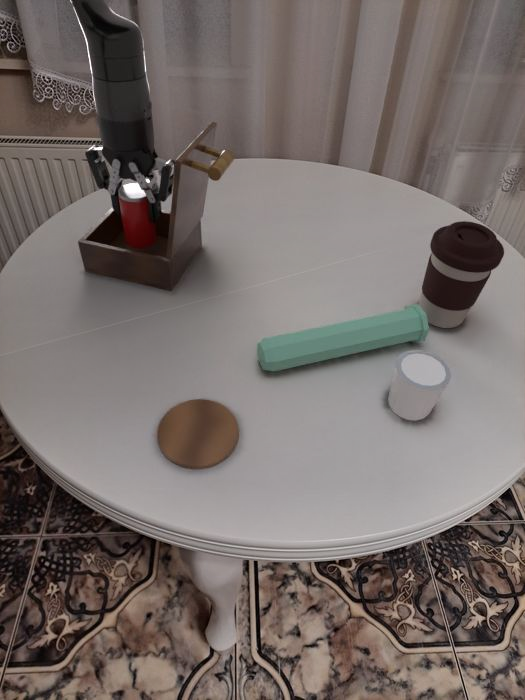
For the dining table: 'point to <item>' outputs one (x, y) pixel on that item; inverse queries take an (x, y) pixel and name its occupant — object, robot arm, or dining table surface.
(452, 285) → the coffee cup
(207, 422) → the coaster
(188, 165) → the lid
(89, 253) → the chest
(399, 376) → the white short cylinder
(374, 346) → the container
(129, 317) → the dining table surface
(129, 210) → the can
